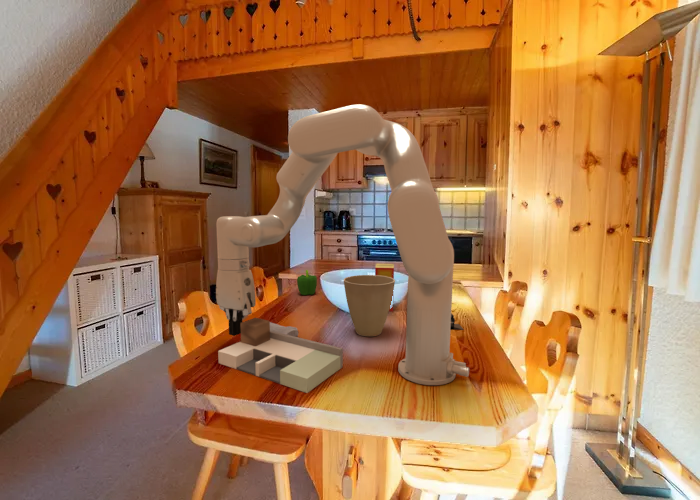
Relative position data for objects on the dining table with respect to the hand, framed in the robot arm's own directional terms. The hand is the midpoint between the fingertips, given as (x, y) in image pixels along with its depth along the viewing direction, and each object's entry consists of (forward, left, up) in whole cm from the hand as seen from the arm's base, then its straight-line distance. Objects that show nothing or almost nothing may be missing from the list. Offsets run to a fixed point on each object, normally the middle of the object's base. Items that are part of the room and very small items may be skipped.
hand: (235, 333), depth 93 cm
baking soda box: (-18, -54, -4) cm, 57 cm away
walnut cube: (-7, 0, -1) cm, 7 cm away
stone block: (-5, -10, -4) cm, 12 cm away
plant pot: (-25, -28, -4) cm, 37 cm away
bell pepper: (+18, -55, -4) cm, 58 cm away
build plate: (-43, -45, -4) cm, 62 cm away
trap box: (-17, +2, -4) cm, 18 cm away
